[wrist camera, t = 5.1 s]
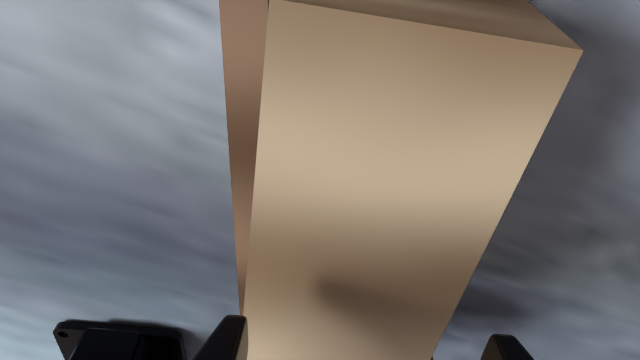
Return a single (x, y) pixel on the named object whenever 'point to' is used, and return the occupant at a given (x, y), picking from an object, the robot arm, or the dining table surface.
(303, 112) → the board
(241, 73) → the frame
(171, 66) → the dining table surface
